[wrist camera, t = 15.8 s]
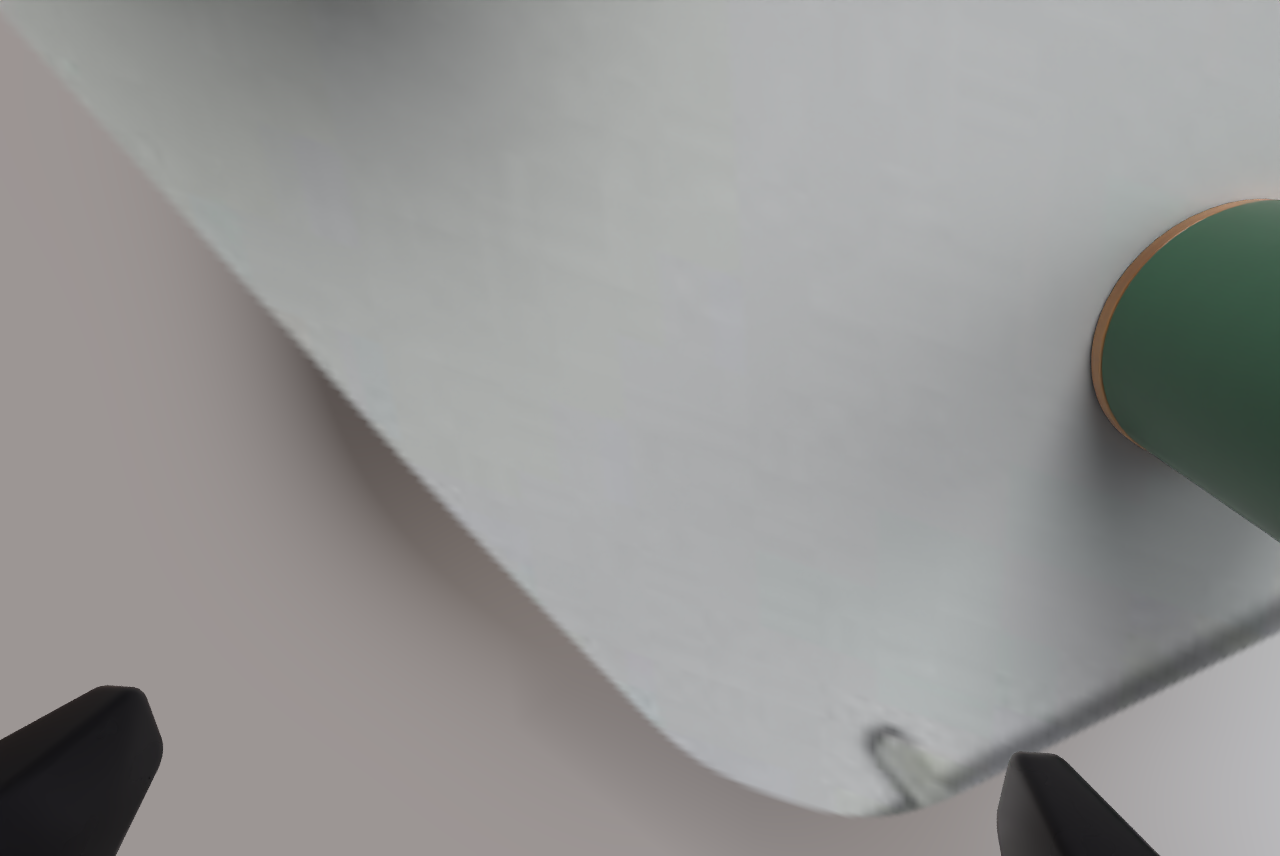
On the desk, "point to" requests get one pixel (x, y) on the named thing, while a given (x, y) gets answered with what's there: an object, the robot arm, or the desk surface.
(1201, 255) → the bottle
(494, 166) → the desk surface
